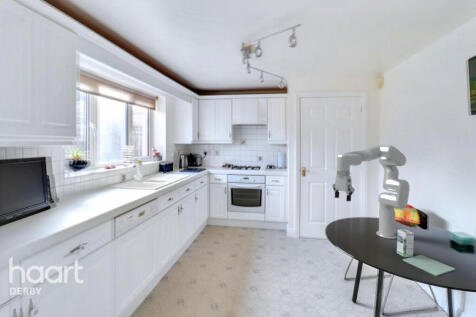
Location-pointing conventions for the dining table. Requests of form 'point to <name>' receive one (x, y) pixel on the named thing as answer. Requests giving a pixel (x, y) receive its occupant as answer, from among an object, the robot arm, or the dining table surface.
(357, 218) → the dining table surface
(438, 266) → the mat
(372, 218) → the dining table surface
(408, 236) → the syrup box
